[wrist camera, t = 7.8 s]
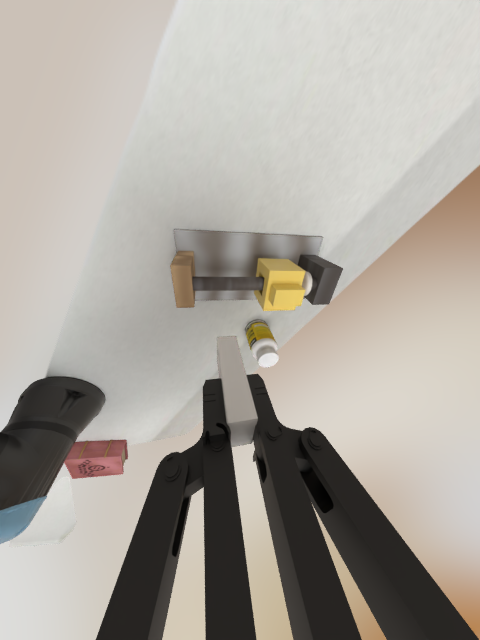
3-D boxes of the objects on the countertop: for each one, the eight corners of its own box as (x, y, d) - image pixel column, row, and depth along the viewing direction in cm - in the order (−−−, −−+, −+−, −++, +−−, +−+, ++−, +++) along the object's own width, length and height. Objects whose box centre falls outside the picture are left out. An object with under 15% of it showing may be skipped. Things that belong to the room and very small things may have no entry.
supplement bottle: (246, 319, 38) (257, 350, 30) (269, 319, 40) (286, 349, 32) (243, 338, 41) (252, 371, 33) (265, 337, 42) (279, 369, 35)
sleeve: (253, 293, 31) (267, 318, 24) (258, 258, 27) (275, 276, 21) (280, 293, 32) (300, 317, 25) (288, 259, 28) (313, 276, 22)
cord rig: (182, 299, 33) (176, 326, 26) (174, 229, 27) (162, 239, 19) (303, 297, 38) (326, 320, 30) (321, 236, 31) (356, 247, 24)
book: (126, 437, 58) (120, 455, 53) (127, 457, 65) (122, 474, 61) (73, 439, 53) (62, 459, 49) (81, 460, 61) (72, 478, 57)
